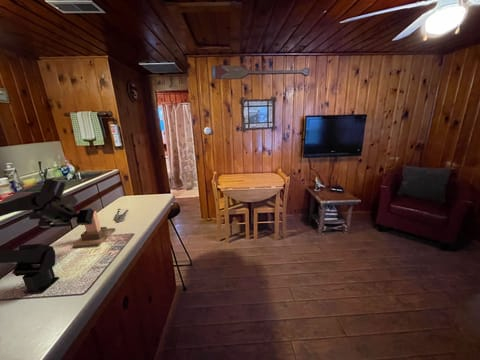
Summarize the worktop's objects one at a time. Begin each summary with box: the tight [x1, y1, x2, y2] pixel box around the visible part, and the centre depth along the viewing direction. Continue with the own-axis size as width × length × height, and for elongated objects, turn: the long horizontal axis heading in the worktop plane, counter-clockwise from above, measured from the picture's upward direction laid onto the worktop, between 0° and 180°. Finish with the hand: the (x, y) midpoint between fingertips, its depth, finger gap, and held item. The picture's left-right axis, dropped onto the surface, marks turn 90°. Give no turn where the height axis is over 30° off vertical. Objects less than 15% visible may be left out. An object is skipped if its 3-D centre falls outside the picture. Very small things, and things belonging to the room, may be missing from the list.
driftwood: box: [112, 208, 128, 223], centre depth 120 cm, size 21×7×2 cm, turn 20°
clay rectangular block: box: [84, 210, 101, 233], centre depth 94 cm, size 2×5×12 cm, turn 94°
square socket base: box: [72, 226, 116, 249], centre depth 95 cm, size 14×11×4 cm
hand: (81, 224), depth 87 cm, fingers open, 9 cm apart
